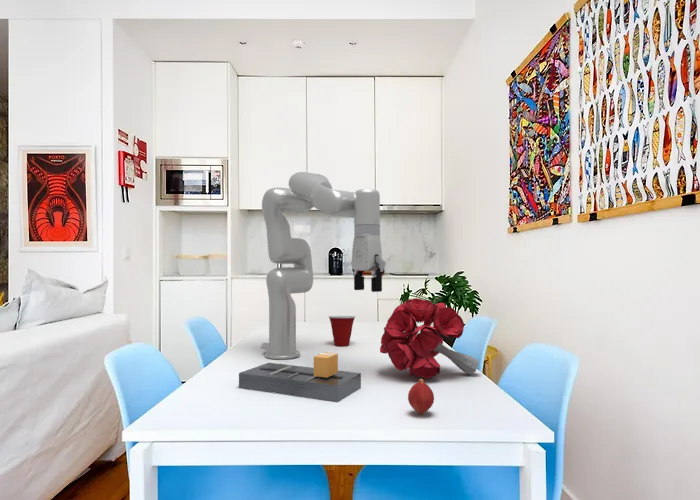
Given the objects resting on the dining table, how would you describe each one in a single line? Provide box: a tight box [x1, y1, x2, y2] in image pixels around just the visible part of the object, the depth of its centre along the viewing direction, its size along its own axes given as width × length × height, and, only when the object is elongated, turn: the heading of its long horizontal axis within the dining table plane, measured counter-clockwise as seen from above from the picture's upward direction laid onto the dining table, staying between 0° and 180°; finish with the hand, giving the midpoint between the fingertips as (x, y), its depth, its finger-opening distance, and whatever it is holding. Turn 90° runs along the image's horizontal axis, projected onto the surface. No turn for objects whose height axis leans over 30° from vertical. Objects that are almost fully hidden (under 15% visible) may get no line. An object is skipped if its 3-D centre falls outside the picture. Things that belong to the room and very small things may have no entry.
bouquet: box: [379, 297, 480, 379], centre depth 144 cm, size 22×24×30 cm
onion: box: [407, 378, 435, 415], centre depth 108 cm, size 6×6×8 cm
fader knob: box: [313, 352, 339, 378], centre depth 127 cm, size 4×6×5 cm
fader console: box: [238, 362, 362, 403], centre depth 130 cm, size 30×14×4 cm, turn 65°
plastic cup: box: [328, 315, 356, 347], centre depth 193 cm, size 11×11×12 cm
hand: (367, 290), depth 139 cm, fingers open, 9 cm apart
